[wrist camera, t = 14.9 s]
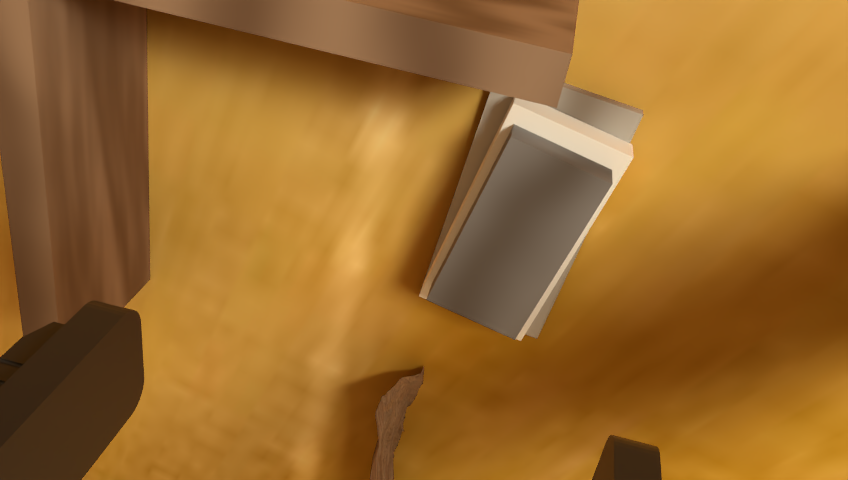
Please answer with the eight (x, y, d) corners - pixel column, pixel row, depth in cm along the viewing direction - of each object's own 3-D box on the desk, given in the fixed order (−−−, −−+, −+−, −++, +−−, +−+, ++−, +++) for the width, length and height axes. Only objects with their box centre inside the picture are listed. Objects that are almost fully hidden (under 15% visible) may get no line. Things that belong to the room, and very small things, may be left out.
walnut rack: (579, -5, 34) (572, 54, 27) (475, 367, 46) (449, 483, 38) (104, -115, 36) (-30, -89, 28) (119, 270, 48) (26, 362, 40)
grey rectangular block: (612, 169, 36) (612, 184, 35) (517, 322, 41) (514, 339, 40) (514, 124, 36) (511, 136, 34) (431, 283, 41) (426, 299, 40)
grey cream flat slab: (642, 103, 37) (643, 114, 36) (539, 322, 44) (537, 338, 43) (503, 55, 37) (499, 64, 36) (424, 281, 45) (418, 296, 43)
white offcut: (632, 144, 37) (633, 157, 35) (523, 324, 43) (520, 341, 42) (516, 91, 36) (513, 103, 35) (424, 280, 43) (418, 296, 42)
